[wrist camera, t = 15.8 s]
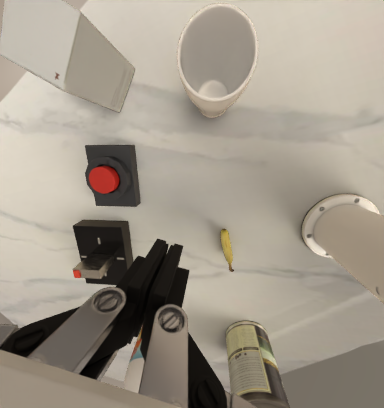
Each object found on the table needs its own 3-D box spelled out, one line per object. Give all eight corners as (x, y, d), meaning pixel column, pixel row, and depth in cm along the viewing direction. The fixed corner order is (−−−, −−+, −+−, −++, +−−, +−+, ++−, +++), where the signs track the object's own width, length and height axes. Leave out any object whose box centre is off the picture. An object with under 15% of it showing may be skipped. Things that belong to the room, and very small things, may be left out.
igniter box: (140, 203, 35) (132, 210, 31) (102, 202, 36) (90, 208, 32) (134, 145, 32) (124, 144, 28) (92, 145, 32) (77, 145, 29)
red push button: (121, 191, 31) (116, 193, 29) (97, 190, 31) (91, 193, 30) (117, 165, 30) (112, 166, 28) (93, 165, 30) (86, 166, 28)
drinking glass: (189, 120, 30) (172, 98, 16) (194, 73, 28) (178, -4, 13) (230, 125, 29) (250, 106, 15) (237, 77, 27) (269, 3, 13)
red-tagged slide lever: (113, 254, 36) (98, 271, 31) (114, 261, 37) (99, 280, 32) (90, 253, 36) (71, 270, 31) (91, 260, 37) (73, 278, 32)
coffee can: (274, 326, 42) (304, 410, 29) (258, 354, 45) (279, 440, 32) (232, 315, 42) (243, 394, 29) (219, 343, 46) (224, 425, 32)
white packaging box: (136, 68, 28) (83, 11, 16) (120, 114, 30) (62, 93, 18) (94, 42, 27) (6, -38, 15) (80, 90, 30) (-6, 53, 18)
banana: (233, 259, 37) (236, 271, 34) (225, 260, 38) (227, 273, 34) (226, 224, 35) (228, 234, 31) (217, 226, 35) (219, 235, 31)
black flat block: (135, 276, 41) (129, 286, 38) (94, 273, 42) (85, 283, 39) (128, 221, 37) (121, 227, 34) (82, 219, 38) (72, 226, 35)
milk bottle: (172, 307, 43) (143, 433, 24) (178, 330, 45) (157, 462, 26) (142, 308, 44) (92, 431, 25) (150, 331, 46) (109, 459, 27)
